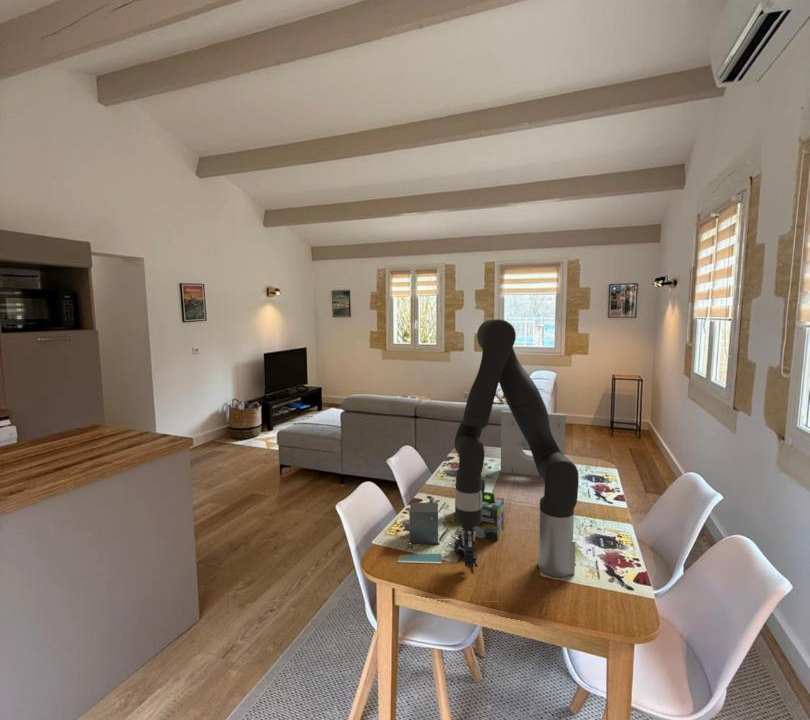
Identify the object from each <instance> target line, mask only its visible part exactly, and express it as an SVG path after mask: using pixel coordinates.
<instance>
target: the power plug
mask: <svg viewBox="0 0 810 720" xmlns="http://www.w3.org/2000/svg"><path fill="white" fill-rule="evenodd" d="M451 538H452V539H453V540H455V541H454V543H450V542H447V545H448V546H449V547H451V548H453V553H454V554H455V555H458V556H460V557H464V546H463V540H462V534H459V535H458V536H455V535H452V536H451ZM475 548H476V547H474V555H473V565H474V566H475V568H478V564H477V561H478V559H477V553H476V551H477V550H476V549H475Z"/></svg>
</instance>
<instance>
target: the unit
mask: <svg viewBox="0 0 810 720" xmlns="http://www.w3.org/2000/svg"><path fill="white" fill-rule="evenodd" d="M408 515H409V518H408V522H409V523H408V527H409V528H408V529H409V543H411V544H410V545H412V544H414V545H415V544H419V545H420V546H440V545H441V542H440V541H439V503H438V502H410V505H409V513H408ZM414 545H413V546H414ZM415 546H416V545H415Z"/></svg>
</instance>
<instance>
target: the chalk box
mask: <svg viewBox="0 0 810 720" xmlns="http://www.w3.org/2000/svg"><path fill="white" fill-rule="evenodd" d="M475 529H476V536H475V538H479V539H484V540H489V541H493V542H499V540H500V539H501V536H502V534H503V533H504V531H505V499H504V498H503V497H498V496H495V494H494V493H491V492H488V491H487V492H486V491H484V492H482V522H481V523H480V524H478V525H475Z"/></svg>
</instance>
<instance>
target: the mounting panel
mask: <svg viewBox="0 0 810 720" xmlns="http://www.w3.org/2000/svg"><path fill="white" fill-rule="evenodd" d="M547 413H548V417H549V424H550V430H551V433H552V436H553V438H554V440H555V442H556V444H557V445H558V447H559V449H560V450H561V452H562V453H563V455H564V456H565V452H566V451H565V450H566V449H565V443H566V413H557V412H556V413H552V412H547ZM500 418H501V419H500V421H501V422H500V425H501V426H500V473H506V474H513V475H514V474H515V475H516V474H517V475H525V476H533V477H540V475H539V473H538V471H537V467H536V464H535V461H534V458H533V455H531V454H528V453H526V452H525V451H524V449H523V447H522V443H523V440H525V437H524V435H523V434H522V432H521V430H520V428H519V426H518V424H517V422H516V421H515V419H514V417H513V415H512V412H511V410H501V414H500Z"/></svg>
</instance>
